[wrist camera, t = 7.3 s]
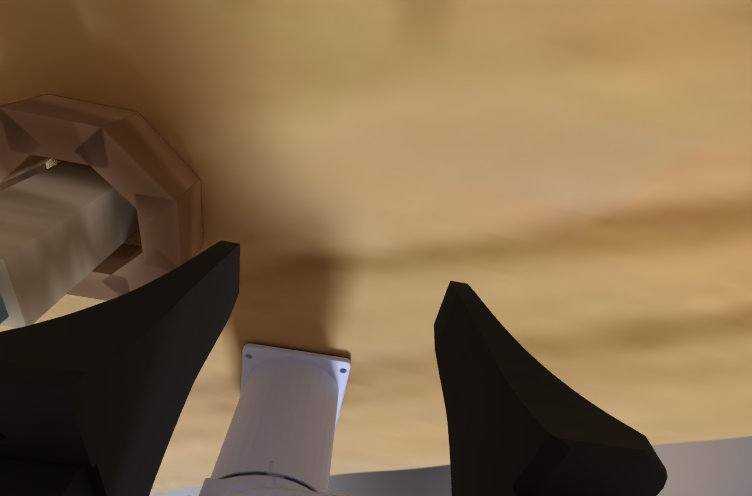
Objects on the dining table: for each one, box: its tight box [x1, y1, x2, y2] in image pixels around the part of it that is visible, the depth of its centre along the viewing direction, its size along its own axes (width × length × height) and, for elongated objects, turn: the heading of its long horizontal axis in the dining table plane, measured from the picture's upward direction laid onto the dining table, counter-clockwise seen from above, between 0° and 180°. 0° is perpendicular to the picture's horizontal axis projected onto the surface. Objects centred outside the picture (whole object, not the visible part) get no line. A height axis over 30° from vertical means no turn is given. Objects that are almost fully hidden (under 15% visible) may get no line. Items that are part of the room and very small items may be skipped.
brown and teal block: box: [0, 161, 139, 328], centre depth 18 cm, size 4×4×10 cm
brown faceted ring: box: [0, 94, 203, 301], centre depth 21 cm, size 10×10×3 cm
